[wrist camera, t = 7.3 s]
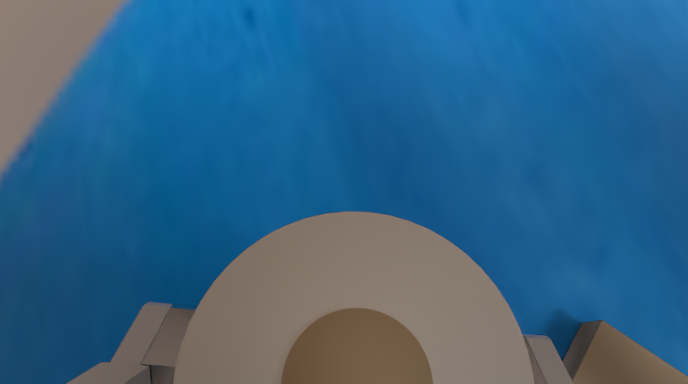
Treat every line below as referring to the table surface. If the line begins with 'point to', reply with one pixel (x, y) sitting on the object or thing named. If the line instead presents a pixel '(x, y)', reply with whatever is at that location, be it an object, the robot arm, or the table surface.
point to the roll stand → (615, 359)
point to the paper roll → (353, 311)
